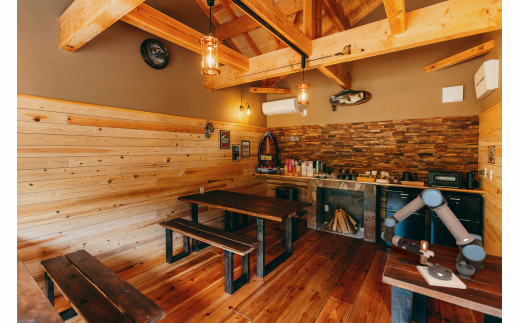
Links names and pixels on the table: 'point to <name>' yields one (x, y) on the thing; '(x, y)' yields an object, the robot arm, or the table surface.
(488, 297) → the table surface
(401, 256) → the table surface
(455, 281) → the base plate
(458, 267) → the mortar and pestle
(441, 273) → the crank handle
